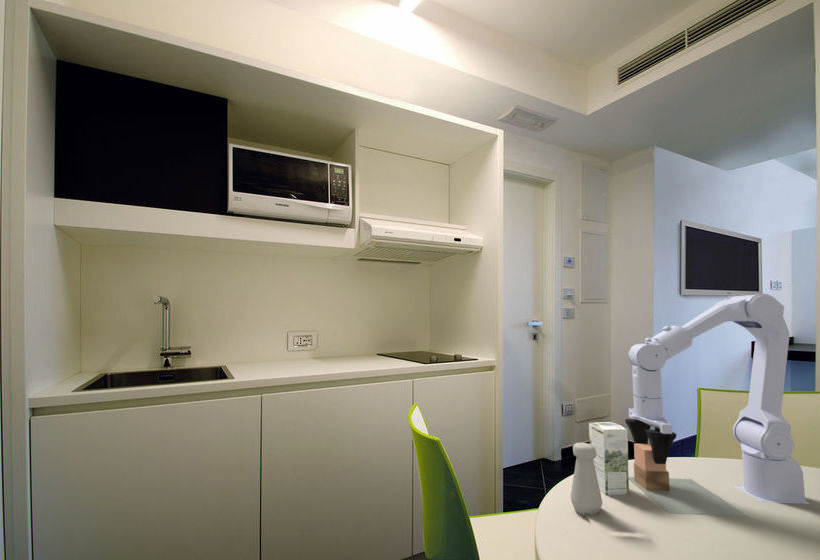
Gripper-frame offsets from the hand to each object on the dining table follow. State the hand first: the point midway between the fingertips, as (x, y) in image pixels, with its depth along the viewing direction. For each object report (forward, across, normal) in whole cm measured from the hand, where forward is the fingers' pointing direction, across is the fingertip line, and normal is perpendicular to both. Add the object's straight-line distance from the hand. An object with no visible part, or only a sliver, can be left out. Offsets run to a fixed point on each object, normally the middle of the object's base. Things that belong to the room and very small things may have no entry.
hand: (650, 457), depth 88 cm
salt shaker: (+7, +12, -19) cm, 24 cm away
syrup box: (+7, +2, -10) cm, 13 cm away
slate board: (+7, +4, +4) cm, 9 cm away
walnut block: (+6, 0, 0) cm, 6 cm away
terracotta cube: (+2, 0, 0) cm, 2 cm away
